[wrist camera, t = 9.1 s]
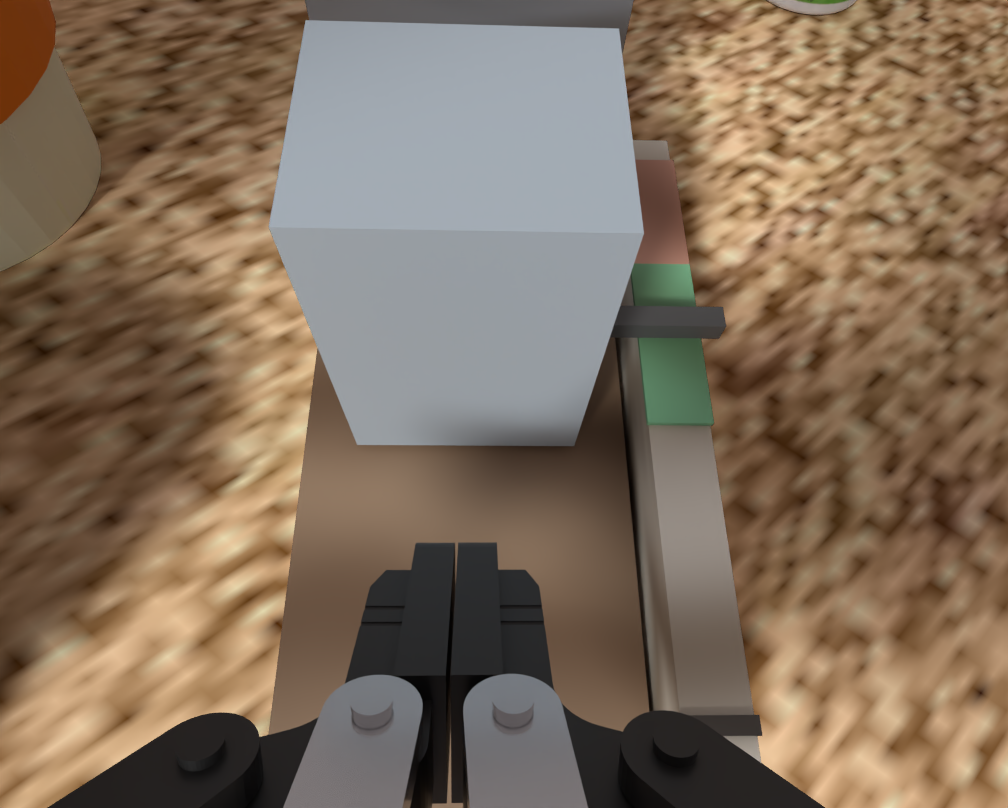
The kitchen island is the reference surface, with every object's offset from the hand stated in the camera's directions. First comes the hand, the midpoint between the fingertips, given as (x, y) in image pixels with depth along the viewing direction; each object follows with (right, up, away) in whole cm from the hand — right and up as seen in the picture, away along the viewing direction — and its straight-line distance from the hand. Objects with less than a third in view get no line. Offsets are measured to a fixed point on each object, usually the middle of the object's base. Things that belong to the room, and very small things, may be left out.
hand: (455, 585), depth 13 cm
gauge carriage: (+2, +6, +8) cm, 10 cm away
